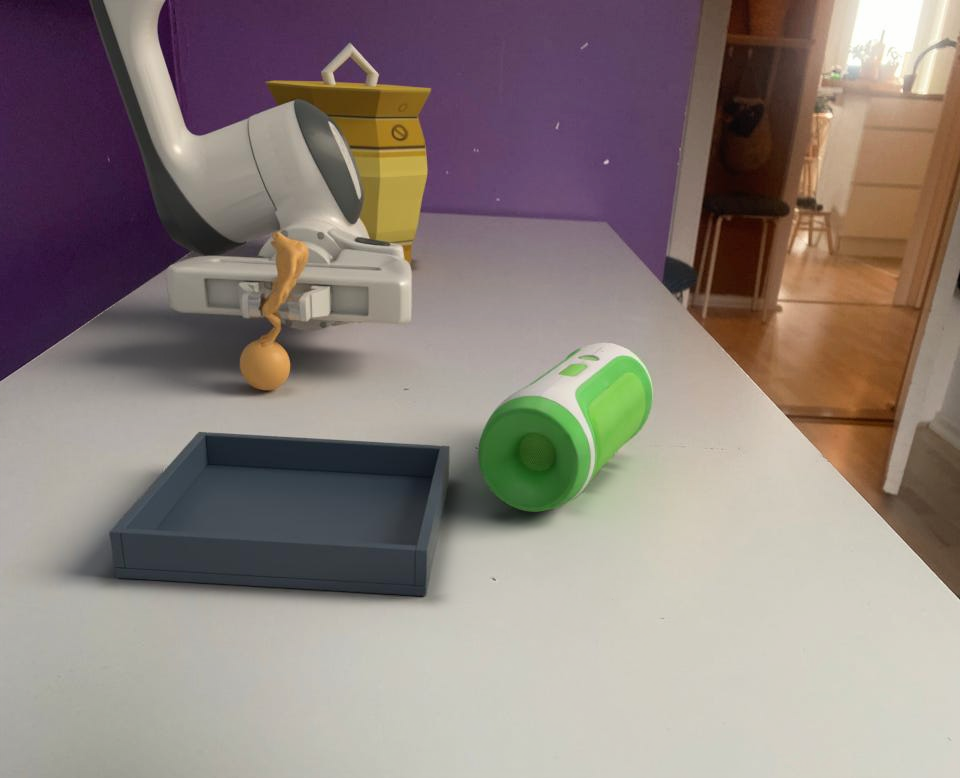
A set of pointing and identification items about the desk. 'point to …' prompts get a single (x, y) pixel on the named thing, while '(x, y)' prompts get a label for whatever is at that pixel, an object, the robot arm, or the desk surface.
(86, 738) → the desk surface
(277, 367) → the figurine
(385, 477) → the tray
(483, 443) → the speaker
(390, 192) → the container
